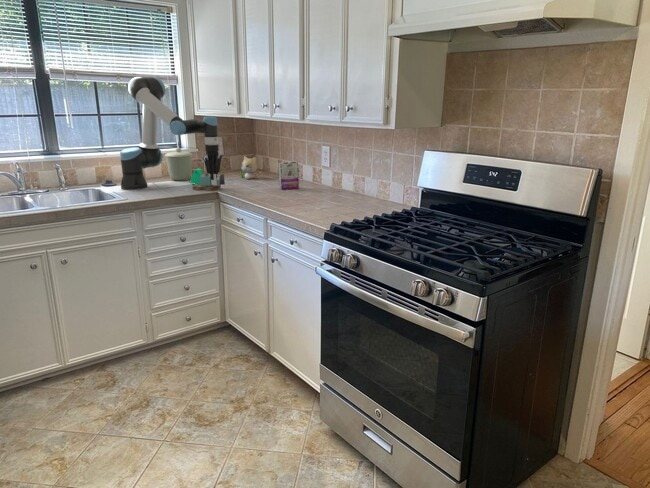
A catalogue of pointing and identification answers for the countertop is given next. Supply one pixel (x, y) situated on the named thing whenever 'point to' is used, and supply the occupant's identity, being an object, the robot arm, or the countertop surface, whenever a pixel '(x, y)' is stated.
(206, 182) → the teal stepped block
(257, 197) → the countertop surface
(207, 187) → the post block
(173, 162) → the canister
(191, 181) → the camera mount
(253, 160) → the cream rounded figure
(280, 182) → the candy bar box
